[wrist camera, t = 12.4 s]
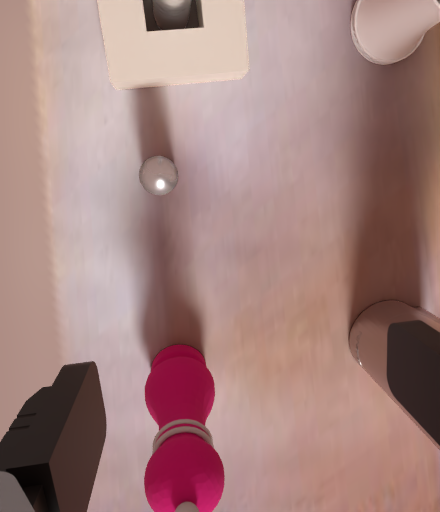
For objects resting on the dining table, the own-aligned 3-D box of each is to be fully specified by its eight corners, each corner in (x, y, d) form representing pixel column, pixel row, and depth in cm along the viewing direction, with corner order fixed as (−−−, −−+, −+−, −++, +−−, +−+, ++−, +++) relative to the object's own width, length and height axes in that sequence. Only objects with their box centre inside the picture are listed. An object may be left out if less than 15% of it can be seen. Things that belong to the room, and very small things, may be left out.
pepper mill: (135, 358, 43) (109, 518, 24) (192, 328, 43) (211, 464, 24) (166, 406, 45) (165, 589, 26) (220, 377, 45) (259, 539, 26)
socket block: (229, -66, 35) (236, -94, 31) (241, 79, 38) (249, 70, 34) (92, -59, 33) (82, -87, 30) (116, 90, 36) (110, 82, 33)
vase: (349, -18, 37) (412, -80, 27) (422, -23, 38) (510, -86, 28) (350, 68, 39) (411, 38, 29) (421, 61, 40) (502, 30, 30)
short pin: (174, 154, 39) (175, 153, 32) (178, 187, 39) (180, 192, 33) (141, 158, 38) (136, 158, 32) (146, 190, 39) (142, 197, 32)
